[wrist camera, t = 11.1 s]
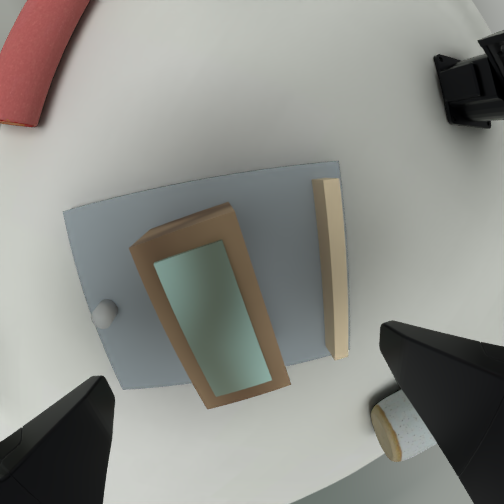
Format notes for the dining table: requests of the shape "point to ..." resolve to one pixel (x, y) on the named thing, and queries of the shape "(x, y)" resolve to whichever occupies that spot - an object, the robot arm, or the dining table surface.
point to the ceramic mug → (400, 428)
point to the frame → (211, 305)
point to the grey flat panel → (260, 252)
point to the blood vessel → (34, 57)
